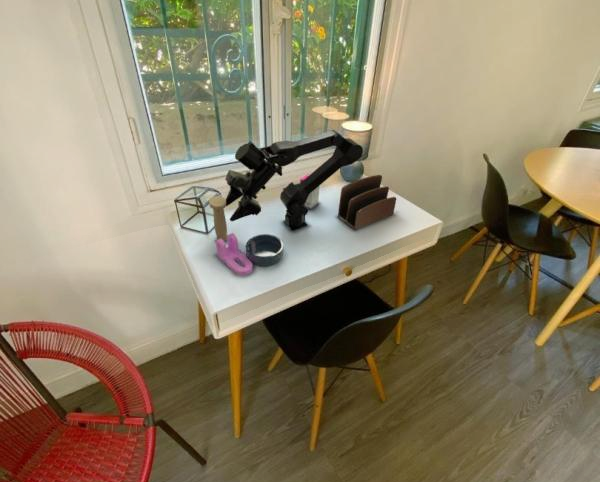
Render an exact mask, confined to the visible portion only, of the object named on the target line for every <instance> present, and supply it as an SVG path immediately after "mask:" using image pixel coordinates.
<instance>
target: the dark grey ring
mask: <svg viewBox="0 0 600 482" xmlns="http://www.w3.org/2000/svg"><path fill="white" fill-rule="evenodd" d="M245 257H246V258H248V259H249V260H250V261H251V262H252V265H253V266H255V267H261V268H269V267H272V266H276V265H277V264H278V263H279V262H280V261H281V260H282V259H283V258H284V242H283V240H282V239H280V237H279V236H276V235H274V234H269V233H268V234H267V233H262V234H257V235H254V236H252V237H251V238H249V239H248V240H247V241H246V243H245Z"/></svg>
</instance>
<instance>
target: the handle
mask: <svg viewBox="0 0 600 482" xmlns="http://www.w3.org/2000/svg"><path fill="white" fill-rule="evenodd" d="M208 204H209V207H210V208H211V209H212V211H213V213H212V214H213V223H214V224H213V227H214V231H215V235H216V240H218V239H220V238H221V239H223V241H224V242H226V241H227V240H228V239H227V236H228V225H227V219H226V214H225V209H226V207H227V206H226V198H225V197H223V196H221V195H215V196H212V197H209V199H208Z"/></svg>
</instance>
